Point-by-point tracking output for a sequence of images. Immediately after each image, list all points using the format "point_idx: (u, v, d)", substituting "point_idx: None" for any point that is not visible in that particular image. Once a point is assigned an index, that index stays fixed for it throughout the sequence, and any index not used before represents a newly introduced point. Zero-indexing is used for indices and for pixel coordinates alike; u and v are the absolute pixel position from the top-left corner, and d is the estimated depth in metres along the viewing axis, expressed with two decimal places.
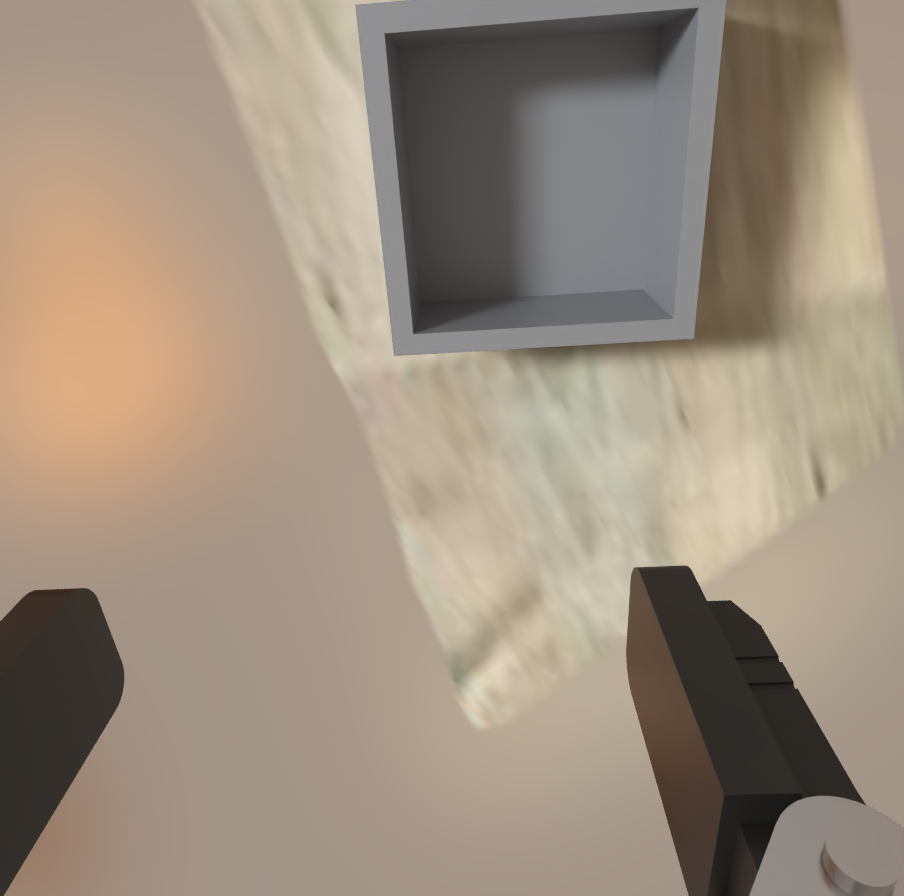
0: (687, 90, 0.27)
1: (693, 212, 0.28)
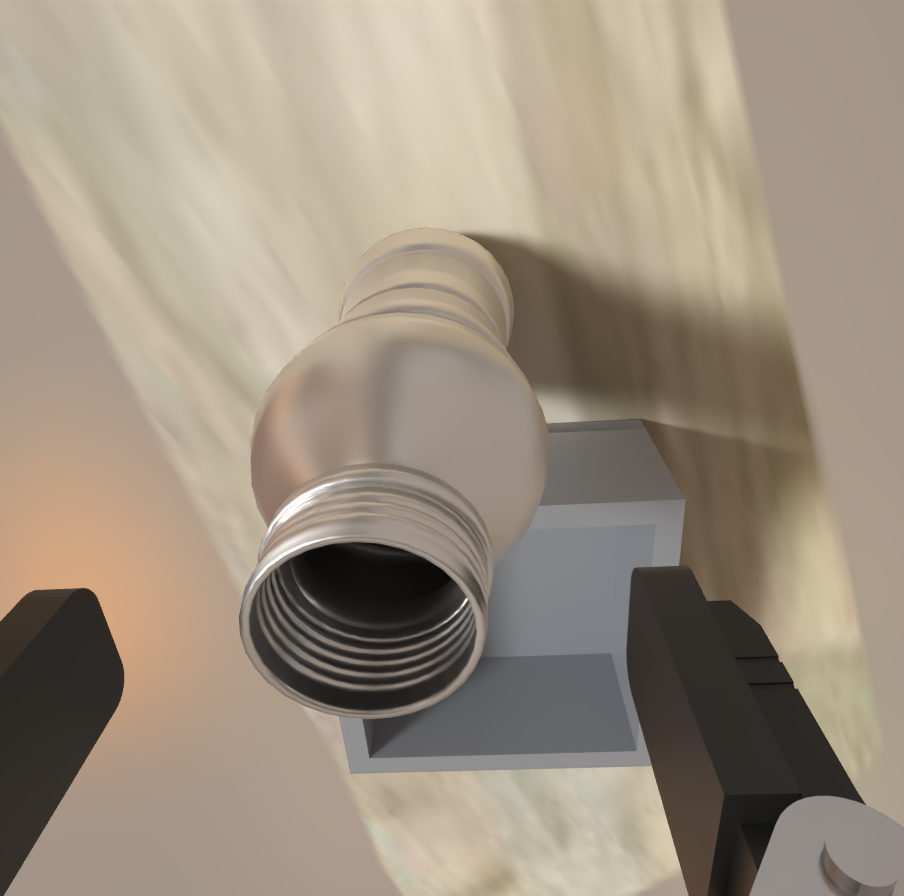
0: None
1: None
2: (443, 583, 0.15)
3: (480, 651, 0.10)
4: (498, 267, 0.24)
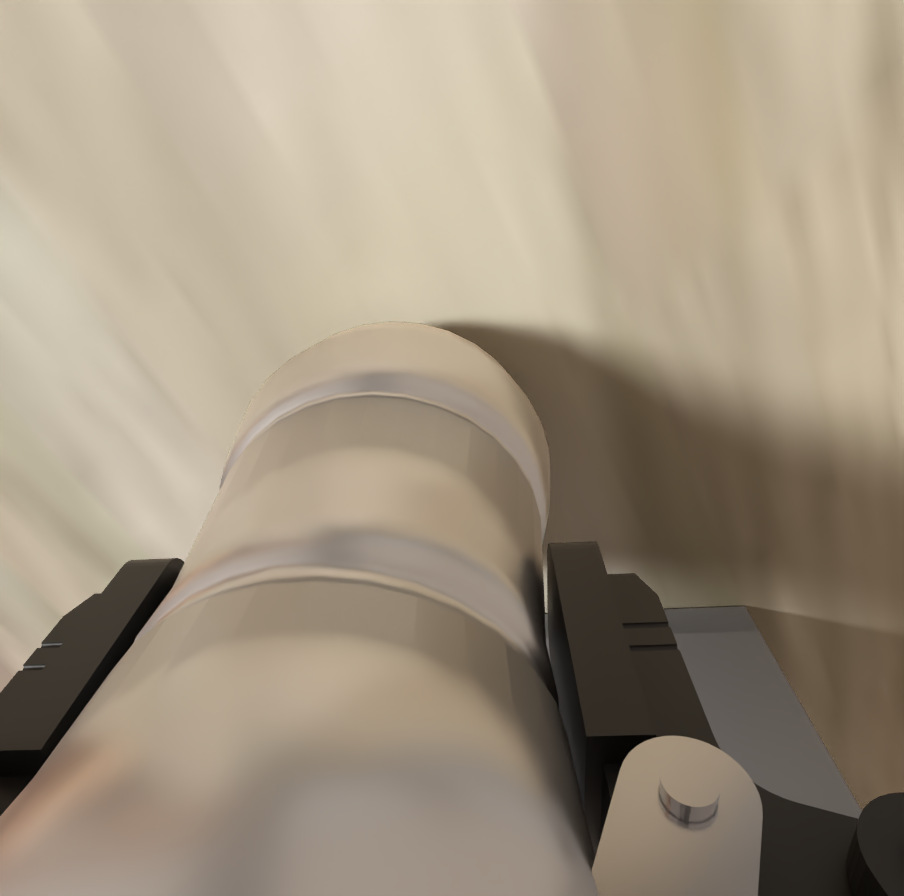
0: None
1: None
2: None
3: None
4: (523, 403, 0.13)
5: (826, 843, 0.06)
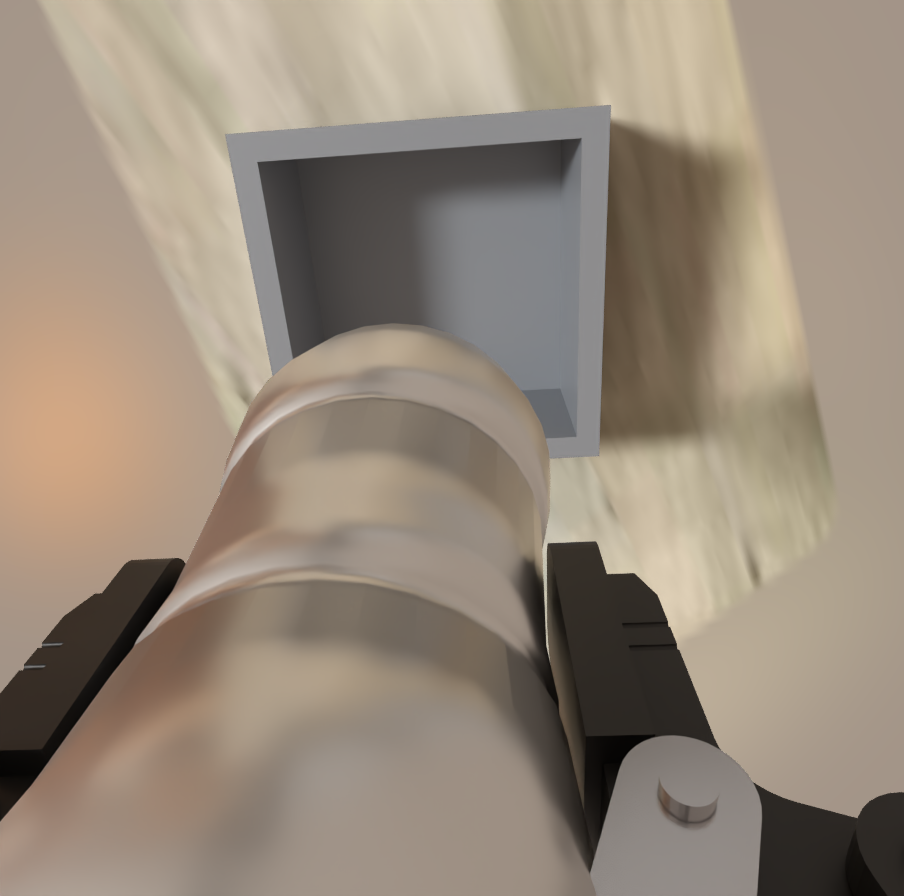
0: (578, 214, 0.26)
1: (590, 335, 0.27)
2: None
3: None
4: (523, 405, 0.13)
5: (825, 843, 0.06)
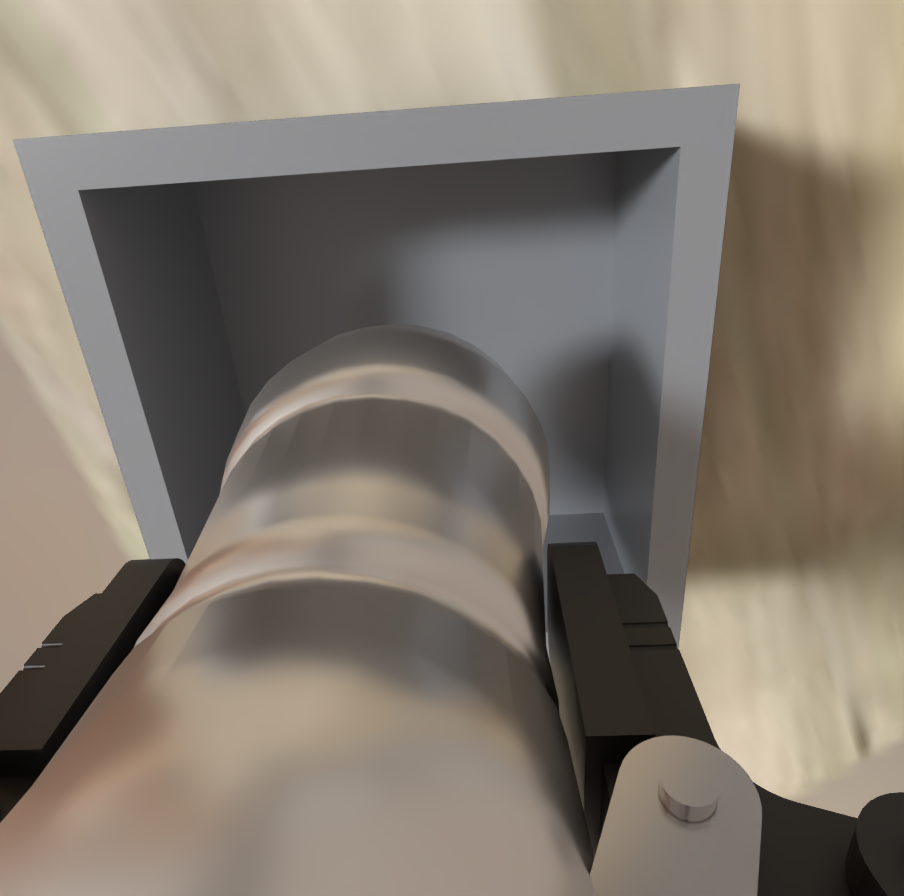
0: (661, 282, 0.15)
1: (674, 480, 0.16)
2: None
3: None
4: (523, 406, 0.13)
5: (825, 842, 0.06)
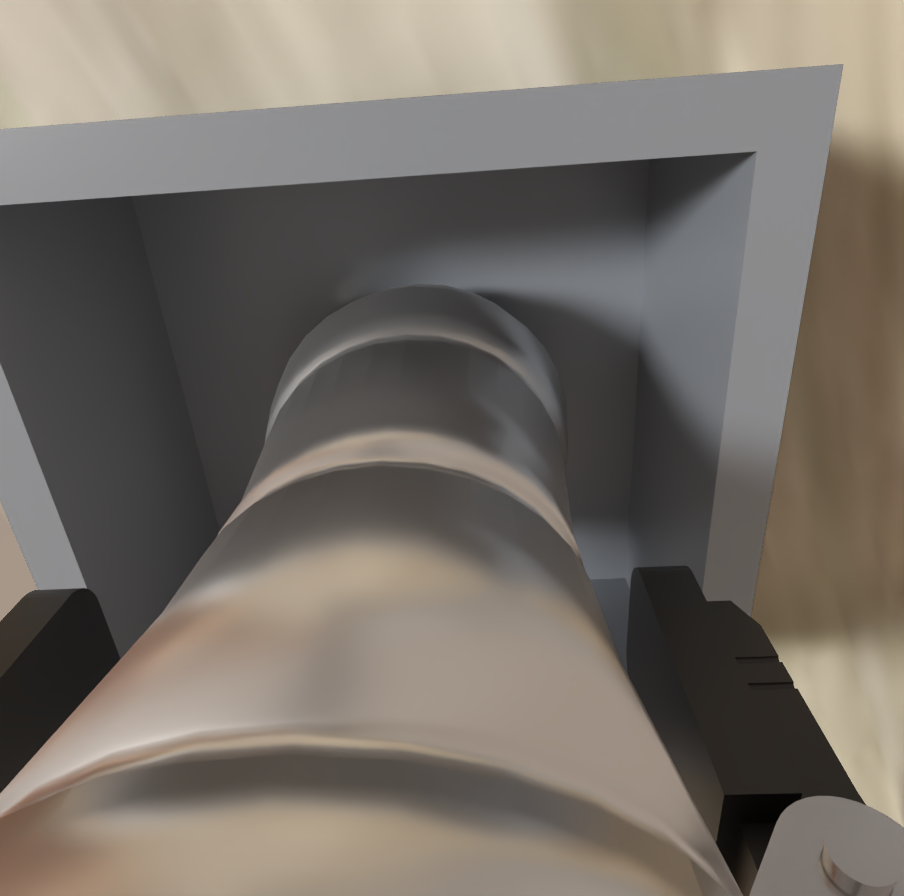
0: (719, 327, 0.11)
1: (729, 576, 0.13)
2: None
3: None
4: (542, 353, 0.14)
5: None
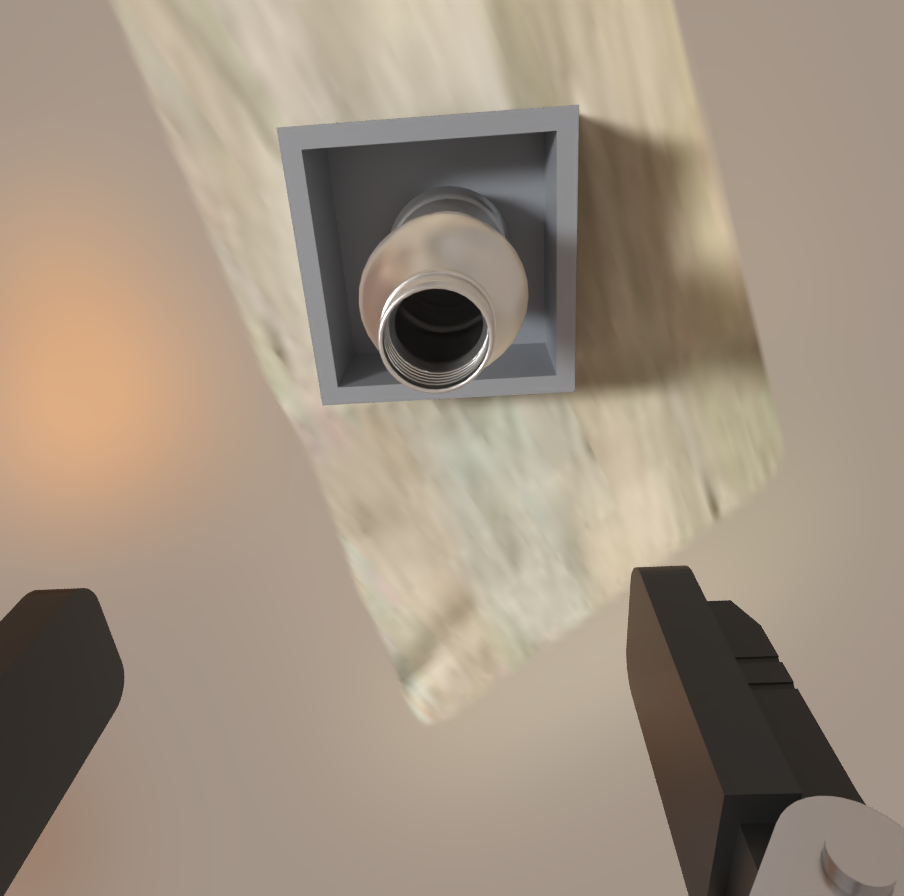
0: (555, 192, 0.32)
1: (565, 290, 0.34)
2: None
3: (491, 349, 0.21)
4: (497, 212, 0.35)
5: None
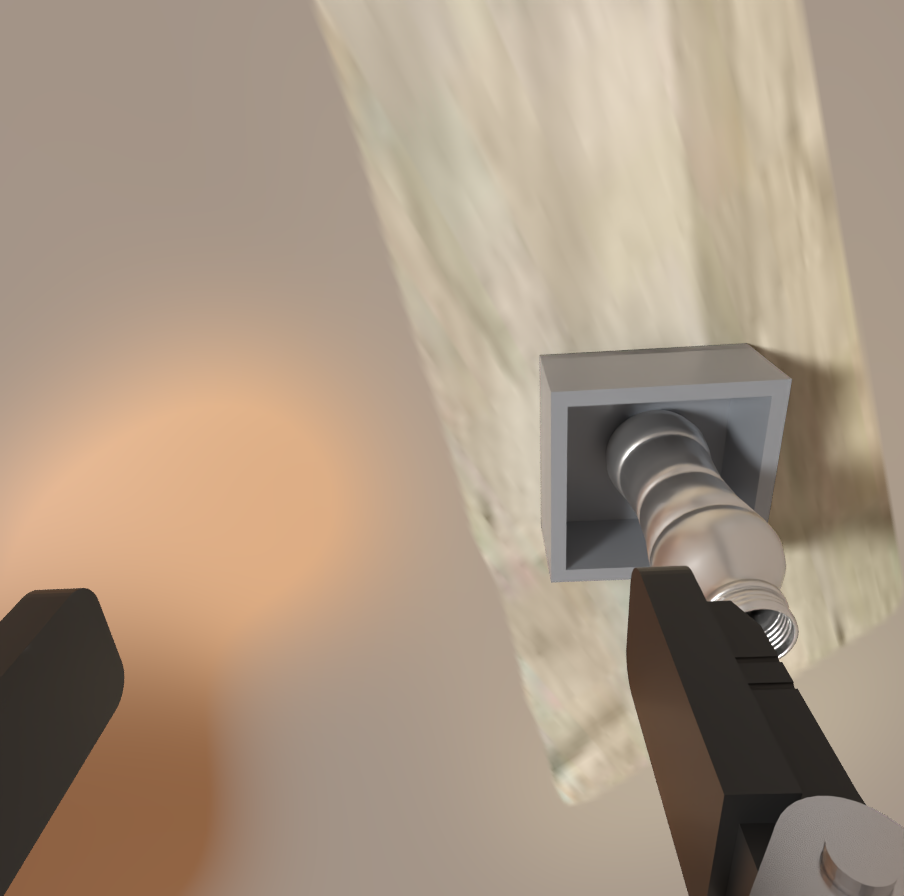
0: (761, 433, 0.41)
1: (762, 503, 0.42)
2: None
3: (794, 643, 0.29)
4: (702, 435, 0.43)
5: None
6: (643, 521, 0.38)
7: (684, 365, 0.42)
